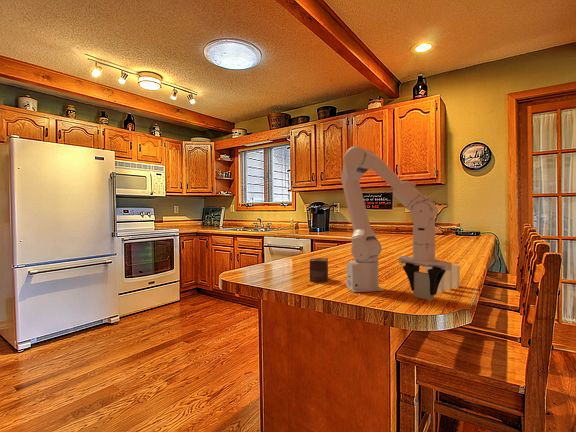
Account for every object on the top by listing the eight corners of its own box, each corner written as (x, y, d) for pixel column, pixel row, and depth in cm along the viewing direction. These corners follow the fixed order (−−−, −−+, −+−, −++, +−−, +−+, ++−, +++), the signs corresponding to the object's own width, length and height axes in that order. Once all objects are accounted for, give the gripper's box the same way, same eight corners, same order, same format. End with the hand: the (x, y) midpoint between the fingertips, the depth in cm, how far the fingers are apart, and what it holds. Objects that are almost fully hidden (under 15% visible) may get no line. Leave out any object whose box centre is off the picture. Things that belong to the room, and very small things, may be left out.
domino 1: (430, 300, 85) (430, 275, 85) (413, 296, 89) (413, 272, 89) (433, 299, 86) (433, 274, 86) (416, 295, 90) (416, 271, 90)
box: (326, 282, 107) (326, 261, 106) (309, 281, 108) (309, 260, 108) (328, 278, 113) (328, 258, 112) (311, 277, 114) (311, 257, 114)
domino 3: (449, 290, 95) (449, 267, 95) (433, 287, 99) (433, 265, 99) (452, 289, 96) (452, 266, 96) (436, 286, 100) (436, 264, 100)
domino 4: (457, 287, 98) (457, 265, 98) (441, 284, 102) (441, 263, 102) (459, 286, 99) (459, 265, 99) (443, 283, 103) (443, 262, 103)
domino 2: (441, 293, 92) (441, 269, 92) (425, 289, 96) (425, 267, 96) (443, 292, 93) (444, 268, 93) (427, 288, 97) (428, 266, 97)
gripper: (457, 245, 84) (457, 295, 84) (408, 240, 95) (408, 284, 96) (444, 247, 79) (444, 300, 80) (394, 242, 91) (394, 288, 91)
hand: (423, 292), depth 87 cm, fingers closed on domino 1, 5 cm apart
